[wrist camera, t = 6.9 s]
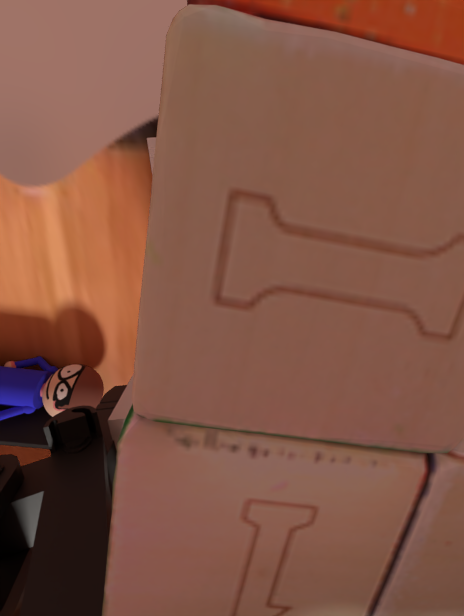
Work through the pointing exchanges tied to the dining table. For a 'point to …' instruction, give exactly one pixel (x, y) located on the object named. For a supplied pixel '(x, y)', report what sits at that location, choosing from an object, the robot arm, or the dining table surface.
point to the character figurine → (41, 398)
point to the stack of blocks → (300, 319)
